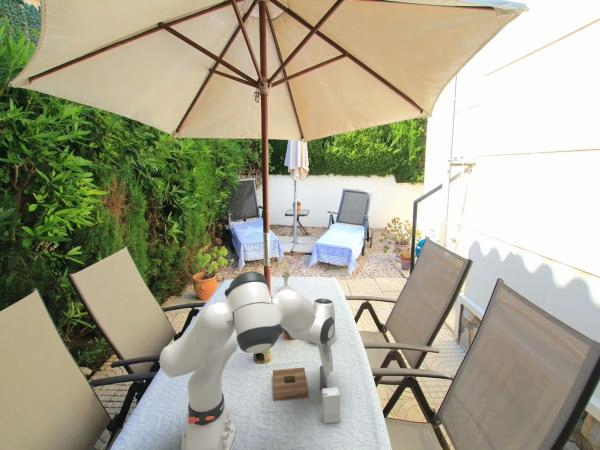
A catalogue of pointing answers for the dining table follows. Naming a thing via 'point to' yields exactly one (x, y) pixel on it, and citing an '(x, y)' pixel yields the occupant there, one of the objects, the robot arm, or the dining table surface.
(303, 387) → the socket block
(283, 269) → the flower in vase
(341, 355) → the dining table surface
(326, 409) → the skincare box
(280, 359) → the dining table surface
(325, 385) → the peg
